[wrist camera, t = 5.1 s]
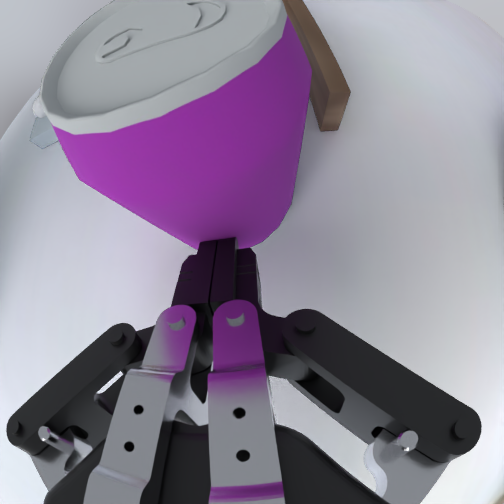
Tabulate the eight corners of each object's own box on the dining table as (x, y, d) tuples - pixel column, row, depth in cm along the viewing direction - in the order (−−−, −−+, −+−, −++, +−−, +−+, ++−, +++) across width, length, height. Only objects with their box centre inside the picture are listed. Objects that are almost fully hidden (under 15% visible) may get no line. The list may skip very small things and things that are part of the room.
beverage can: (180, 273, 15) (-1, 224, 4) (157, 159, 17) (50, 30, 5) (310, 234, 15) (396, 84, 3) (270, 124, 16) (258, -48, 5)
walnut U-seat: (114, 168, 17) (83, 142, 13) (136, 43, 19) (122, 17, 15) (337, 130, 16) (350, 92, 12) (290, 14, 18) (291, -17, 15)
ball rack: (42, 148, 18) (17, 131, 15) (55, 102, 19) (36, 83, 16) (107, 119, 18) (84, 93, 14) (118, 72, 19) (100, 47, 15)
